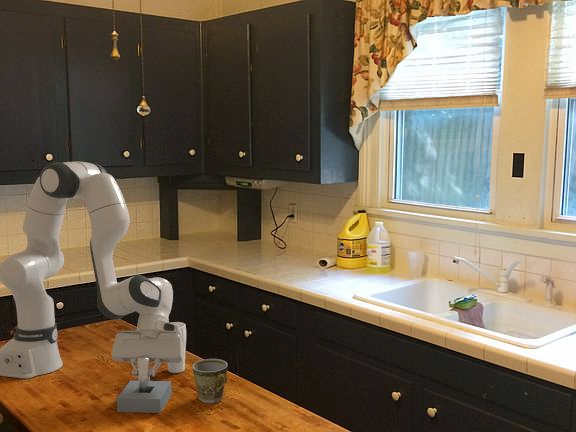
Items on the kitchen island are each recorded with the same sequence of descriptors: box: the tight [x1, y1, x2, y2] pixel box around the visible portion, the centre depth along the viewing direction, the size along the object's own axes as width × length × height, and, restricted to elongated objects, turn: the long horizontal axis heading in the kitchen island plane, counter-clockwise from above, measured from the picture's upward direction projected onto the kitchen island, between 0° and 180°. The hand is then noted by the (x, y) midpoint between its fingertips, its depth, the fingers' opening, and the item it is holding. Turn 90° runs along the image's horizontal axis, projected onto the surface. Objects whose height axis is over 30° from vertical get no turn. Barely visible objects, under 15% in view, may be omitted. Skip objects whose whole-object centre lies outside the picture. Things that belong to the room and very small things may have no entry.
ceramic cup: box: [192, 358, 229, 404], centre depth 183 cm, size 13×10×10 cm
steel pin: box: [137, 356, 151, 393], centre depth 181 cm, size 3×3×12 cm
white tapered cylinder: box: [167, 321, 187, 374], centre depth 204 cm, size 7×7×15 cm
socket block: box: [116, 380, 173, 414], centre depth 182 cm, size 12×12×4 cm
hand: (143, 375), depth 180 cm, fingers closed on steel pin, 3 cm apart
